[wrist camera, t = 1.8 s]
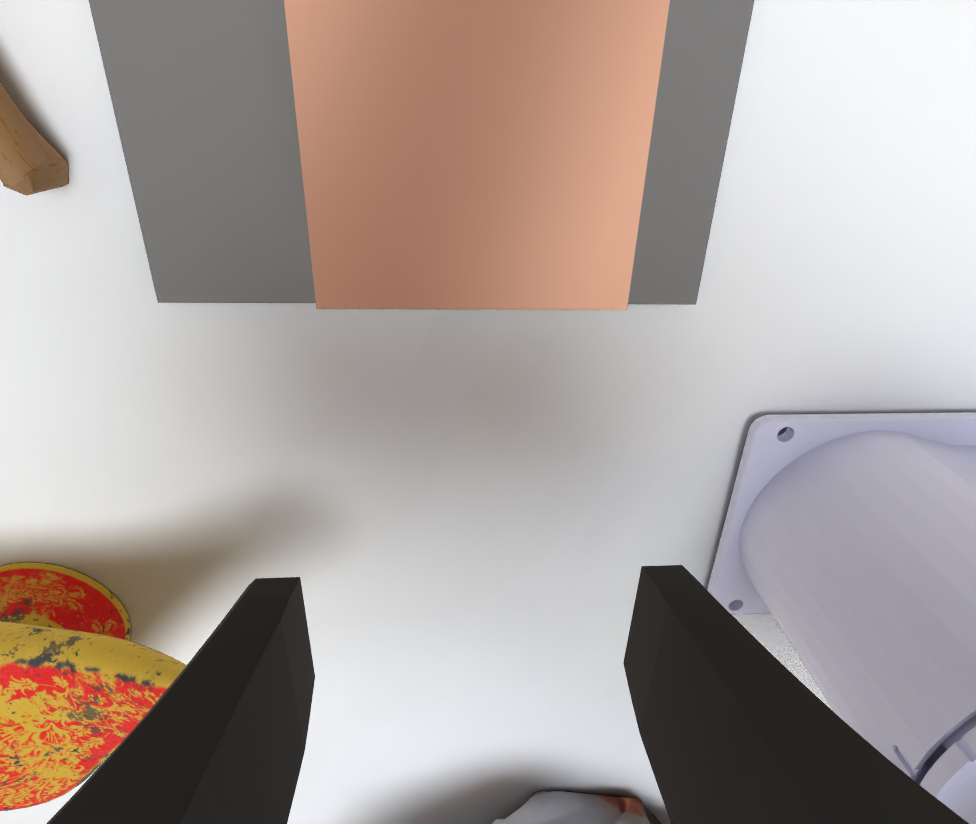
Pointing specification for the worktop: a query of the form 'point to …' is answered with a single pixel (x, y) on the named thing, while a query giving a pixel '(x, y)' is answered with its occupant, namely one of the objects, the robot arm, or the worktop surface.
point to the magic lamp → (66, 680)
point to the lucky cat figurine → (580, 810)
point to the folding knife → (27, 153)
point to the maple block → (474, 149)
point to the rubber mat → (276, 154)
